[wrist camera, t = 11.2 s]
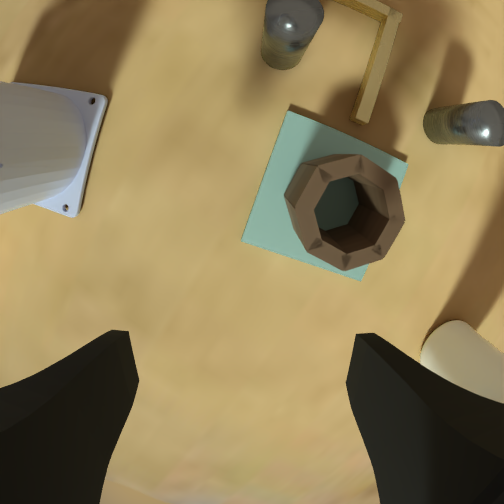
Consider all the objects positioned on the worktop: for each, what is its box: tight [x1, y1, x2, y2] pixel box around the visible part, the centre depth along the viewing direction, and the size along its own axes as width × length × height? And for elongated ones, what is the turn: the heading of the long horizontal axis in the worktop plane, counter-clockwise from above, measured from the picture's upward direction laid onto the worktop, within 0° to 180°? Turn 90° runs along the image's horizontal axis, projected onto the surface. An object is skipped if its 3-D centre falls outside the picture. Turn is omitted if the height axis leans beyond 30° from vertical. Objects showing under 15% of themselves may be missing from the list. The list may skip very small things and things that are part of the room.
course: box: [261, 0, 504, 146], centre depth 12 cm, size 14×15×6 cm
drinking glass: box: [420, 320, 504, 403], centre depth 15 cm, size 7×7×15 cm
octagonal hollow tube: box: [284, 154, 405, 271], centre depth 16 cm, size 5×5×4 cm
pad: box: [241, 111, 408, 281], centre depth 18 cm, size 8×8×1 cm
